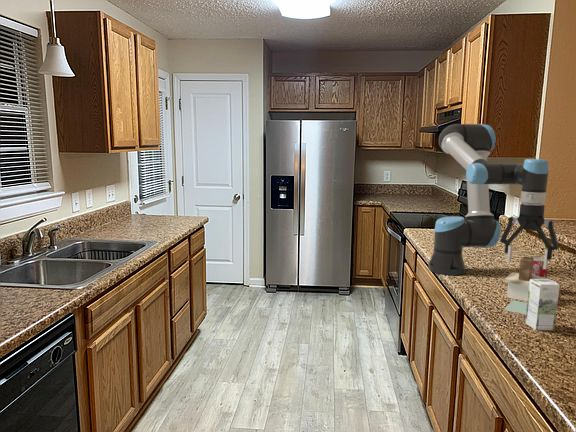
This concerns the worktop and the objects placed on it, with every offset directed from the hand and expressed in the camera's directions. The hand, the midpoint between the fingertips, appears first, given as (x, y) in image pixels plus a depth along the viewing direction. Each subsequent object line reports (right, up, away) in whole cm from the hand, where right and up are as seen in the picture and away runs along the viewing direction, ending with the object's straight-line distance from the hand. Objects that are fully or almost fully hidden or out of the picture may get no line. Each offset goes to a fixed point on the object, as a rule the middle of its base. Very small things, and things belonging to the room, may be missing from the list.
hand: (526, 265), depth 158 cm
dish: (0, -12, +2) cm, 12 cm away
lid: (0, -6, +1) cm, 6 cm away
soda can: (+9, -11, +11) cm, 18 cm away
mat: (-5, -14, -11) cm, 18 cm away
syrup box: (-10, -16, -25) cm, 31 cm away
